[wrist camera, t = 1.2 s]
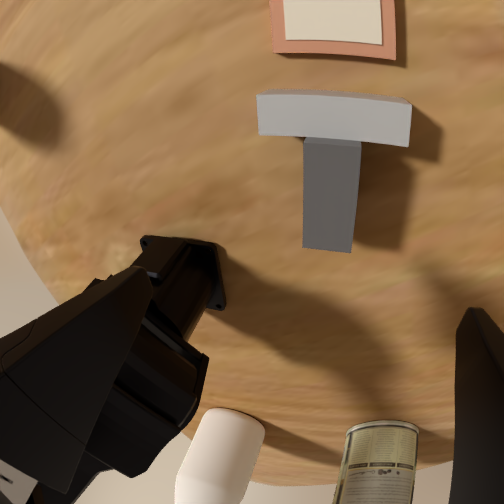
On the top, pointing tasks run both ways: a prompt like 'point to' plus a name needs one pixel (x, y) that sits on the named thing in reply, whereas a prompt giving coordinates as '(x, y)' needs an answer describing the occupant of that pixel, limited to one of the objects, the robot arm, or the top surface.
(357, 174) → the grey block mallet
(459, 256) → the top surface
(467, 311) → the robot arm
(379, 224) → the top surface
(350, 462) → the coffee can
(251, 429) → the wine bottle
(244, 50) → the top surface
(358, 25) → the tile
